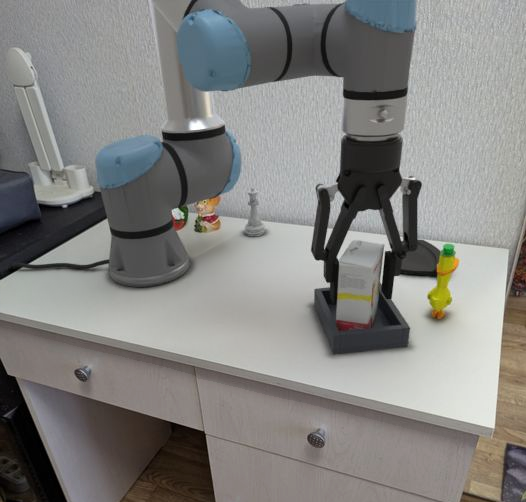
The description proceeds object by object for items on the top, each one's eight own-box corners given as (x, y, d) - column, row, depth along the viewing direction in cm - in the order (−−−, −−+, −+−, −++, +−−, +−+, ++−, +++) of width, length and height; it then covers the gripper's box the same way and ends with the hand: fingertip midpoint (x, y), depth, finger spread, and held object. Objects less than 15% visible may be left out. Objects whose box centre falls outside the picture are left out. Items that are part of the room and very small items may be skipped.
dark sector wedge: (445, 248, 98) (446, 240, 97) (445, 278, 88) (446, 270, 87) (402, 244, 100) (403, 237, 99) (397, 274, 90) (398, 266, 89)
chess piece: (248, 228, 112) (245, 183, 106) (267, 229, 110) (265, 184, 105) (242, 235, 108) (239, 190, 102) (261, 237, 107) (259, 191, 101)
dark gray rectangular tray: (333, 354, 71) (333, 335, 69) (313, 306, 82) (314, 288, 80) (407, 346, 71) (410, 327, 69) (378, 299, 83) (380, 282, 81)
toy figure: (435, 302, 81) (448, 233, 74) (457, 308, 79) (472, 238, 72) (419, 320, 77) (430, 249, 70) (441, 327, 75) (455, 254, 68)
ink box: (366, 341, 72) (373, 267, 65) (333, 335, 73) (336, 262, 66) (378, 312, 78) (385, 242, 71) (347, 307, 80) (352, 238, 73)
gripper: (296, 147, 57) (297, 317, 70) (464, 134, 58) (435, 303, 71) (286, 134, 63) (289, 292, 76) (439, 122, 64) (416, 279, 77)
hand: (360, 297), depth 74 cm, fingers open, 7 cm apart
